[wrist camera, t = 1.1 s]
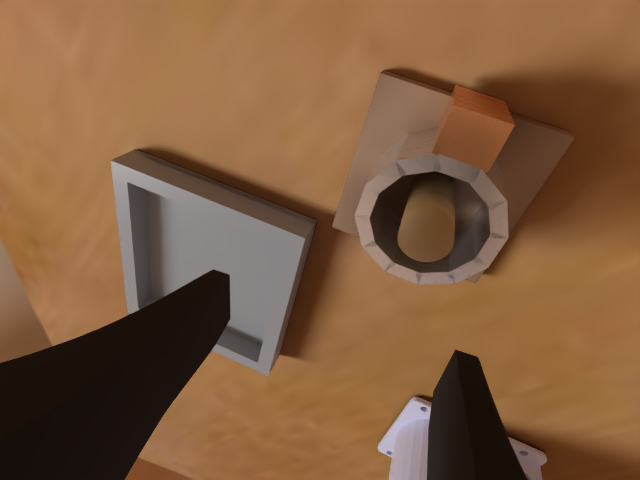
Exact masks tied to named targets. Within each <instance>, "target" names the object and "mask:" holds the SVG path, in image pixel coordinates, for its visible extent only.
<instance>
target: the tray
mask: <svg viewBox="0 0 640 480" xmlns="http://www.w3.org/2000/svg"><path fill="white" fill-rule="evenodd" d="M111 168H112V177H113V186H114V194H115V203H116V212H117V221H118V230H119V239H120V248H121V257H122V265H123V274H124V283H125V292H126V301H127V310H128V312H129V313H131V314H132V313H134V312H136V311H138V310H140V309H142V308H144V307H146V306H148V305H150V304H151V303H153V302H155V301H157V300H159V299H161V298H163V297H164V296H166V295H168V294H170V293H172V292H173V291H175V290H177V289H179V288H181V287H182V286H184V285H186V284H188V283H189V282H191V281H193V280H195V279H196V278H198V277H200V276H202V275H203V274H205V273H207V272H209V271H211V270H213V269H214V270H217V271H220V272H223V273H226V274H229V275H230V318H231V319H230V320H229V322H228V324H227V326H226V328H225V329H224V331H223V333H222V335H221V336H220V338H219V340H218V341H217V343H216V345H215V346H214V348H213V349H212V351H214V352H216V353H219V354H221V355H223V356H225V357H227V358H229V359H232V360H234V361H236V362H238V363H240V364H243V365H245V366H247V367H249V368H251V369H254V370H256V371H258V372H260V373H262V374H264V375H267V376H269V374H270V372H271V370H272V368H273V366H274V364H275V362H276V361H277V359H278V357H279V354H280V351H281V347H282V344H283V340H284V337H285V333H286V330H287V326H288V323H289V319H290V315H291V312H292V308H293V305H294V301H295V298H296V294H297V291H298V287H299V284H300V280H301V277H302V273H303V270H304V266H305V262H306V259H307V255H308V252H309V248H310V245H311V241H312V238H313V234H314V231H315V227H316V224H317V220H315V219H312V218H309V217H307V216H304V215H302V214H299V213H297V212H294V211H292V210H289V209H287V208H284V207H281V206H279V205H276V204H274V203H271V202H269V201H266V200H264V199H261V198H259V197H256V196H254V195H251V194H248V193H246V192H243V191H241V190H238V189H236V188H233V187H231V186H228V185H226V184H223V183H221V182H218V181H215V180H213V179H210V178H208V177H205V176H203V175H200V174H198V173H195V172H193V171H190V170H187V169H185V168H182V167H180V166H177V165H175V164H172V163H170V162H167V161H165V160H162V159H160V158H157V157H154V156H152V155H149V154H147V153H144V152H142V151H139V150H137V149H135V150H133V151H131V152H128V153H126V154H124V155H122V156H119V157H117V158H115V159H113V160H111Z"/></svg>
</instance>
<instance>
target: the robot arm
mask: <svg viewBox="0 0 640 480" xmlns="http://www.w3.org/2000/svg"><path fill="white" fill-rule="evenodd" d="M230 319H231V318H230V275H229V274H226V273H223V272H220V271H217V270H214V269H213V270H211V271H209V272H207V273H205V274H203V275H202V276H200V277H198V278H196V279H195V280H193V281H191V282H189V283H188V284H186V285H184V286H182V287H181V288H179V289H177V290H175V291H173V292H172V293H170V294H168V295H166V296H164V297H163V298H161V299H159V300H157V301H155V302H153V303H151V304H150V305H148V306H146V307H144V308H142V309H140V310H138V311H136V312H134V313H132V314H130V315H128V316H126V317H124V318H122V319H120V320H117V321H115V322H113V323H111V324H109V325H106V326H104V327H102V328H100V329H97V330H95V331H92V332H90V333H87V334H85V335H83V336H80V337H77V338H75V339H72V340H69V341H67V342H64V343H61V344H58V345H55V346H52V347H50V348H47V349H44V350H41V351H38V352H35V353H32V354H29V355H26V356H23V357H20V358H17V359H13V360H10V361H6V362H3V363H0V480H125V478H126V476H127V474H128V473H129V471H130V469H131V468H132V466H133V464H134V462H135V461H136V459H137V457H138V456H139V454H140V452H141V451H142V449H143V447H144V446H145V444H146V442H147V441H148V439H149V437H150V436H151V434H152V433H153V431H154V429H155V428H156V426H157V425H158V423H159V421H160V420H161V418H162V417H163V415H164V414H165V412H166V411H167V409H168V408H169V406H170V405H171V404H172V402H173V401H174V400H175V398H176V397H177V396H178V394H179V393H180V392H181V390H182V389H183V388H184V386H185V385H186V384H187V382H188V381H189V380H190V378H191V377H192V376H193V374H194V373H195V372H196V370H197V369H198V368H199V367H200V365H201V364H202V362H203V361H204V360H205V358H206V357H207V356H208V354H209V353H210V352H211V350H212V349H213V348H214V346H215V345H216V343H217V341H218V340H219V338H220V336H221V335H222V333H223V331H224V329H225V328H226V326H227V324H228V322H229V320H230ZM378 450H379V451H380V452H382V453H384V454H386V455H388V456H390V457H392V461H391V467H390V473H389V480H543V479H542V473H541V467H540V466H542V465H543V464H545V463H546V462H547V458H546V454H545V453H543V452H542V451H540V450H537V449H535V448H533V447H530V446H528V445H526V444H524V443H521V442H519V441H517V440H515V439H512V438H510V437H508V435H507V433H506V430H505V428H504V426H503V423H502V421H501V419H500V416H499V413H498V411H497V408H496V406H495V403H494V400H493V398H492V395H491V392H490V390H489V387H488V384H487V381H486V378H485V375H484V373H483V370H482V367H481V364H480V361H479V359H478V357H476V356H473V355H470V354H467V353H464V352H461V351H458V350H455V352H454V354H453V356H452V357H451V359H450V361H449V363H448V365H447V367H446V369H445V371H444V373H443V374H442V376H441V378H440V380H439V382H438V384H437V386H436V388H435V389H434V392H433V398H432V403H431V402H428V401H426V400H424V399H422V398H419V397H414V398H412V399H411V400H410V401H409V403H408V404H407V405H406V407H405V408H404V410H403V411H402V412H401V414H400V415H399V416H398V418H397V419H396V421H395V422H394V423H393V425H392V426H391V427H390V429H389V430H388V432H387V433H386V434H385V436H384V437H383V438H382V440H381V441H380V443H379V445H378Z"/></svg>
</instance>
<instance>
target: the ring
mask: <svg viewBox="0 0 640 480" xmlns="http://www.w3.org/2000/svg"><path fill="white" fill-rule="evenodd" d="M514 126H515V124H514V122H513V119H512V117H511V114H510V112H509V110H508V107H507V105H506V102H505V101H503V100H500V99H497V98H494V97H491V96H488V95H485V94H482V93H479V92H476V91H473V90H470V89H467V88H463V87H460V86H457V85H455V87H454V89H453V92H452V94H451V96H450V98H449V101H448V103H447V105H446V108H445V110H444V112H443V114H442V117H441V119H440V121H439V123H438V126H437V128H434V129H428V130H423V131H417V132H412V133H407V134H406V135H405V136H404V137H402V138H401V139H400V140H399V141H398V142H396V143H395V144H394V145H393V146H391V147H390V148H389V149H388V150H387V151H385V152H384V153H383V154H382V155H381V157H380V159H379V160H378V162H377V164H376V166H375V168H374V170H373V172H372V173H371V175H370V177H369V179H368V181H367V183H366V185H365V188H364V190H363V193H362V196H361V199H360V202H359V205H358V207H357V210H356V213H355V220H356V224H357V228H358V233H359V237H360V241H361V245H362V248H363V249H364V250H365V251H366V252H367V253H368V254H369V255H370V256H371V257H372V258H373V259H374V260H375V261H376V262H377V263H378V265H379V266H380V267H381V268H382V269H383V270H384V271H385V272H388V273H390V274H393V275H395V276H398V277H400V278H403V279H405V280H408V281H410V282H413V283H415V284H418V285H419V284H455V283H457V282H460V281H462V280H464V279H466V278H468V277H470V276H472V275H474V274H476V273H478V272H480V271H482V270H484V269H487V268H488V267H489V266H490V264H491V263H492V261H493V260H494V258H495V257H496V256H497V254H498V253H499V251H500V250H501V248H502V247H503V245H504V244H505V242H506V241H507V239H508V238H509V236H508V208H507V198H506V193H505V188H504V184H503V179H502V174H501V170H500V165H499V164H498V163H497V162H496V160H495V159H496V158H497V156H498V154H499V152H500V151H501V149H502V147H503V145H504V144H505V142H506V140H507V138H508V137H509V135H510V133H511V131H512V129H513V128H514ZM433 171H438V172H441V173H443V174H446V175H449V176H452V177H454V178H457V179H460V180H463V181H466V182H468V183H469V184H470V185H471V186H472V187H473V189H474V190H475V191H476V192H477V193H478V195H479V196H480V197H481V198H482V199H483V202H482V203H481V205H480V207H479V208H478V210H477V212H476V214H475V215H474V217H473V218H471V219H469V220H468V221H466V222H464V223H462V224H461V225H459V226H457V227H456V228H455V232H454V245H453V248H452V250H451V251H450V253H449V254H448V255H447V256H445V257H444V258H442V259H440V260H438V261H434V262H420V261H417V260H414V259H412V258H410V257H408V256H407V255H406V254H405V253H404V252H403V251H402V250H401V248H400V246H399V244H398V232H399V228H400V225H401V221H402V220H401V219H400V218H399V217H398V216H397V215H396V214H395V213H394V212H393V210H392V209H391V208H390V207H389V205H388V200H387V195H386V190H385V189H386V188H387V187H388V186H390V185H391V184H392V183H394V182H395V181H396V180H398V179H399V178H400V177H402V176H403V175H411V174H418V173H425V172H433Z"/></svg>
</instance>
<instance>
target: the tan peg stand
mask: <svg viewBox="0 0 640 480" xmlns="http://www.w3.org/2000/svg"><path fill="white" fill-rule="evenodd" d="M451 94H452V93H451V92H448V91H445V90H442V89H439V88H436V87H433V86H430V85H427V84H424V83H421V82H418V81H415V80H412V79H409V78H406V77H403V76H400V75H397V74H394V73H391V72H388V71H385V70H383V71H382V72H381V73H380V76H379V79H378V82H377V85H376V88H375V92H374V95H373V98H372V101H371V104H370V107H369V111H368V114H367V117H366V120H365V123H364V126H363V130H362V133H361V136H360V139H359V142H358V145H357V149H356V152H355V155H354V158H353V161H352V164H351V168H350V171H349V174H348V177H347V180H346V183H345V187H344V190H343V193H342V196H341V199H340V202H339V206H338V209H337V212H336V215H335V218H334V221H333V225H332V227H333V228H336V229H338V230H341V231H344V232H346V233H349V234H351V235H354V236H356V237H359V233H358V228H357V224H356V220H355V213H356V210H357V207H358V205H359V202H360V199H361V196H362V193H363V190H364V188H365V185H366V183H367V181H368V179H369V177H370V175H371V173H372V172H373V170H374V168H375V166H376V164H377V162H378V160H379V159H380V157H381V155H382V154H383V153H384V152H385V151H387V150H388V149H389V148H390V147H391V146H393V145H394V144H395V143H396V142H398V141H399V140H400V139H401V138H402V137H404V136H405V135H406V134H407V133H412V132H417V131H423V130H428V129H434V128H437V126H438V123H439V121H440V119H441V117H442V114H443V112H444V110H445V108H446V105H447V103H448V101H449V98H450V96H451ZM510 114H511V117H512V119H513V122H514V124H515V126H514V128H513V129H512V131H511V133H510V135H509V137H508V138H507V140H506V142H505V144H504V145H503V147H502V149H501V151H500V152H499V154H498V156H497V158H496V159H495V160H496V162H497V163H498V164H499V165H500V170H501V174H502V179H503V184H504V188H505V193H506V198H507V208H508V236H509V234H510V233H511V231H512V230H513V228H514V227H515V225H516V224H517V222H518V221H519V219H520V218H521V216H522V215H523V214H524V212H525V211H526V209H527V208H528V206H529V205H530V203H531V202H532V200H533V199H534V197H535V196H536V194H537V193H538V192H539V190H540V189H541V187H542V186H543V184H544V183H545V181H546V180H547V178H548V177H549V175H550V174H551V172H552V171H553V170H554V168H555V167H556V165H557V164H558V162H559V161H560V159H561V158H562V156H563V155H564V153H565V152H566V150H567V149H568V148H569V146H570V145H571V143H572V142H573V140H574V139H575V137H574V136H573V135H572V133H571V132H569V131H566V130H563V129H560V128H557V127H554V126H551V125H548V124H545V123H542V122H539V121H536V120H533V119H530V118H527V117H524V116H521V115H518V114H515V113H512V112H510ZM385 190H386V195H387V200H388V205H389V207H390V208H391V209H392V210H393V212H394V213H395V214H396V215H397V216H398V217H399V218H400V219H401V220H402V221H401V225H400V228H399V232H398V244H399V246H400V248H401V250H402V251H403V252H404V253H405V254H406V255H407V256H408V257H410V258H412V259H414V260H417V261H420V262H434V261H438V260H440V259H442V258H444V257H445V256H447V255H448V254H449V253H450V251H451V250H452V248H453V245H454V232H455V228H456V227H457V226H459V225H461V224H462V223H464V222H466V221H468V220H469V219H471V218H473V217H474V215H475V214H476V212H477V210H478V208H479V207H480V205H481V203H482V202H483V199H482V198H481V197H480V196H479V195H478V193H477V192H476V191H475V190H474V189H473V187H472V186H471V185H470V184H469V183H468V182H466V181H463V180H460V179H457V178H454V177H452V176H449V175H446V174H443V173H441V172H438V171H433V172H425V173H418V174H411V175H403V176H402V177H400V178H399V179H398V180H396V181H395V182H394V183H392V184H391V185H390V186H388V187H387V188H386V189H385ZM359 238H360V237H359ZM484 271H485V269H484V270H482V271H480V272H478V273H476V274H474V275H472V276H470V277H468V278H466V279H465V280H468V281H471V282H473V283H477V281H478V280H479V278H480V277H481V275H482V274H483V272H484Z"/></svg>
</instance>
